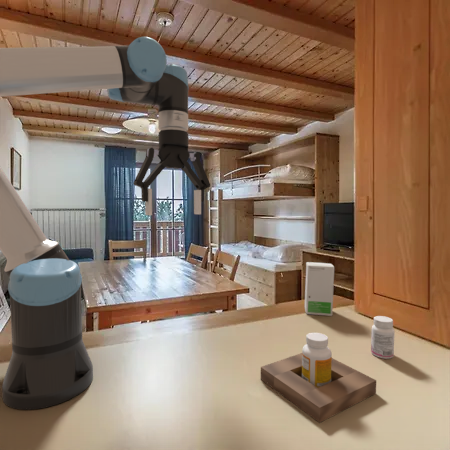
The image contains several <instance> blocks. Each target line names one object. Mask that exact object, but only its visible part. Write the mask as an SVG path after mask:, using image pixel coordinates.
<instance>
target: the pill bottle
mask: <svg viewBox="0 0 450 450" xmlns="http://www.w3.org/2000/svg"><path fill="white" fill-rule="evenodd" d="M370 339H371V340H370V341H371V342H370V344H371V345H370V346H371V347H370V352H371V354H372V355H373V356H375V357H377V358H380V359H384V360H385V359H387V360H388V359H389V360H390V359H392V358H394V356H395V329H394V320H393V318H391V317H388V316H385V315H377V316H374V317H373V324H372V326H371V338H370Z"/></svg>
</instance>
